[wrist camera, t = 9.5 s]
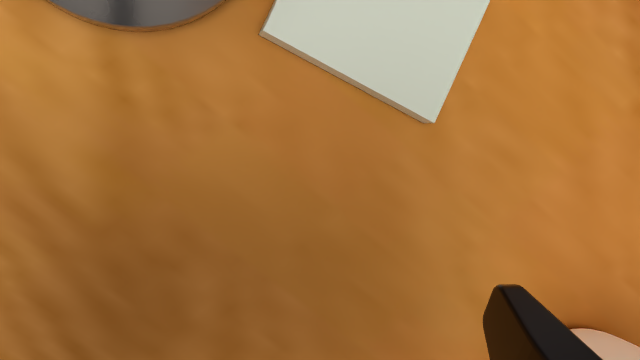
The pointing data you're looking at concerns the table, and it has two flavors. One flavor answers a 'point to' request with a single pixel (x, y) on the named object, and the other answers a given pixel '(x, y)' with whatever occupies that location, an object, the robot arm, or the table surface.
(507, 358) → the robot arm
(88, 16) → the grey saucer
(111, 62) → the table surface
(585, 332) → the mug
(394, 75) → the stand
